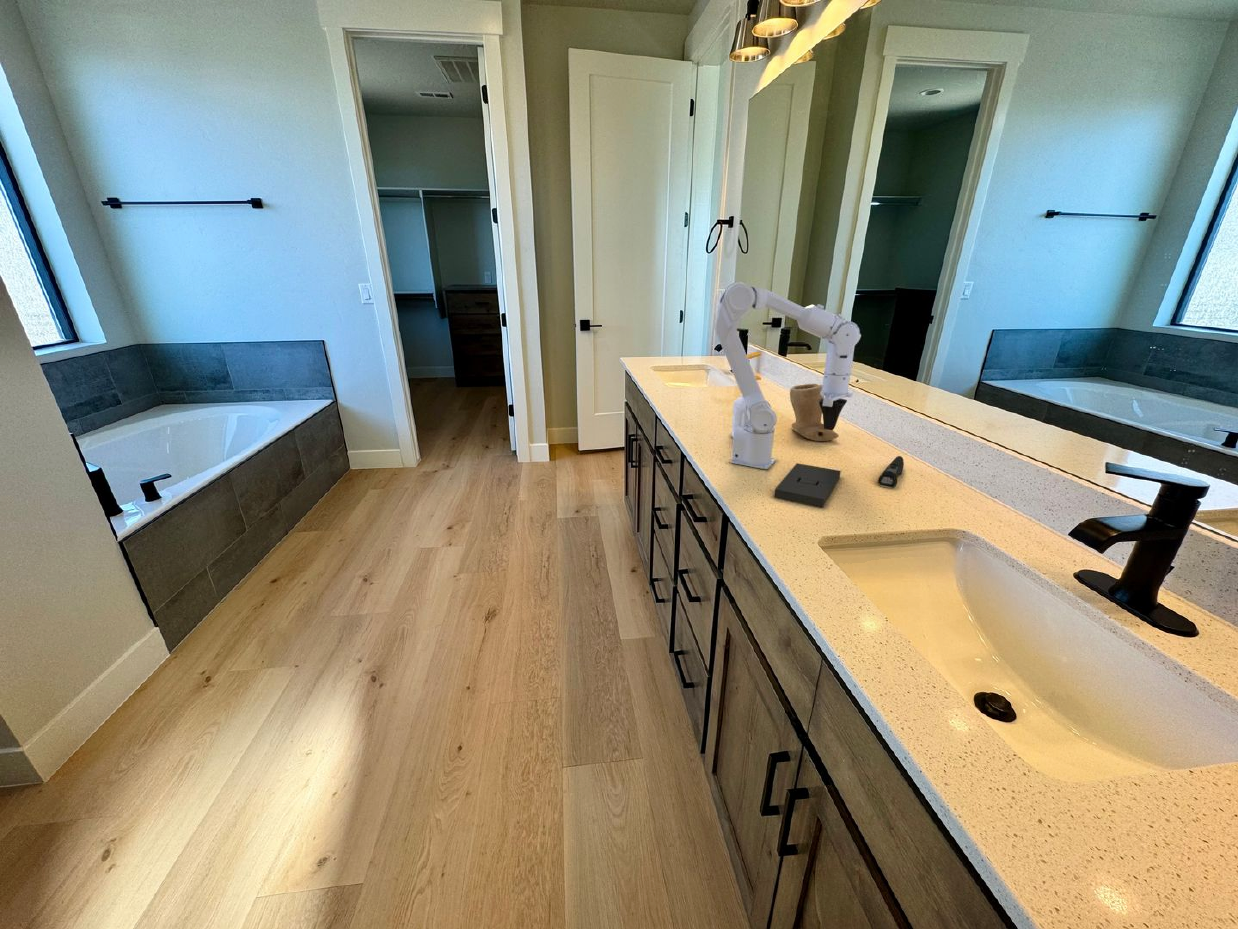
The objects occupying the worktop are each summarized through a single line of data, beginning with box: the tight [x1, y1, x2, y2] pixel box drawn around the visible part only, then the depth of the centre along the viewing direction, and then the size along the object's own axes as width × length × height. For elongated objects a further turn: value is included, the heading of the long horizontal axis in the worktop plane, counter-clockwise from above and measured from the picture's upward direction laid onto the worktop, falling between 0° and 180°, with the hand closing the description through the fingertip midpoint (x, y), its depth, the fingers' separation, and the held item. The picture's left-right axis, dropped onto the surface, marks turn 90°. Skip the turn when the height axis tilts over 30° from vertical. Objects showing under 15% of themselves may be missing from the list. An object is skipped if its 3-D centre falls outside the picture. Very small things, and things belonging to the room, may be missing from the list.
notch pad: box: [773, 474, 833, 509], centre depth 106 cm, size 10×9×2 cm
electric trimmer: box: [877, 455, 905, 489], centre depth 115 cm, size 4×16×3 cm, turn 143°
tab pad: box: [786, 462, 842, 492], centre depth 113 cm, size 10×11×2 cm
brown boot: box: [789, 383, 840, 442], centre depth 143 cm, size 15×12×15 cm
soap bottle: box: [730, 351, 762, 438], centre depth 140 cm, size 9×9×25 cm
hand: (829, 428), depth 120 cm, fingers closed
